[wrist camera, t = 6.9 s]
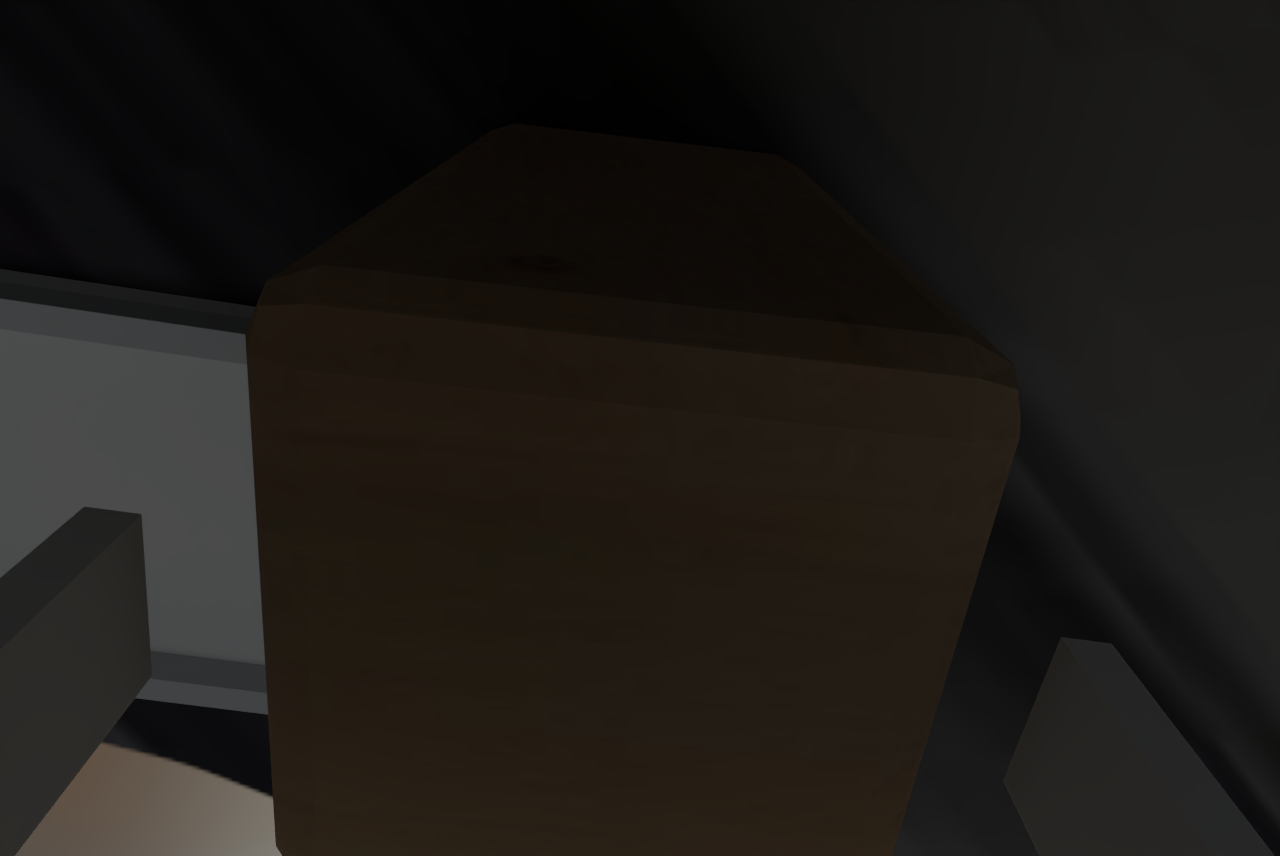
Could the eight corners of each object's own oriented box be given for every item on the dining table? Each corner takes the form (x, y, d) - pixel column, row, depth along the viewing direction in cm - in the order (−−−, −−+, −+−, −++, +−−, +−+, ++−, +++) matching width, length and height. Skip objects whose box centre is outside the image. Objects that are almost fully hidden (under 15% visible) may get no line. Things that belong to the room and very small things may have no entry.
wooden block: (487, 116, 29) (204, 275, 10) (804, 154, 29) (1076, 372, 11) (473, 411, 33) (253, 906, 14) (753, 441, 33) (888, 959, 15)
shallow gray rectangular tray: (-54, 260, 30) (-116, 281, 28) (459, 336, 31) (443, 363, 29) (1, 631, 36) (-46, 675, 34) (431, 685, 37) (416, 732, 35)
